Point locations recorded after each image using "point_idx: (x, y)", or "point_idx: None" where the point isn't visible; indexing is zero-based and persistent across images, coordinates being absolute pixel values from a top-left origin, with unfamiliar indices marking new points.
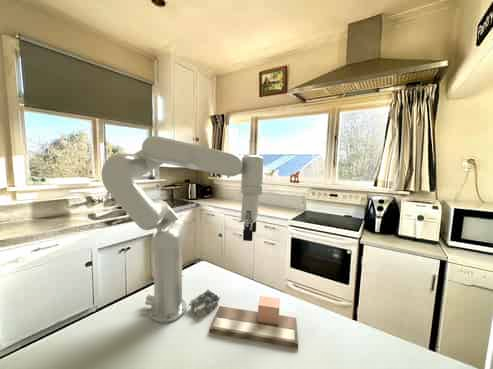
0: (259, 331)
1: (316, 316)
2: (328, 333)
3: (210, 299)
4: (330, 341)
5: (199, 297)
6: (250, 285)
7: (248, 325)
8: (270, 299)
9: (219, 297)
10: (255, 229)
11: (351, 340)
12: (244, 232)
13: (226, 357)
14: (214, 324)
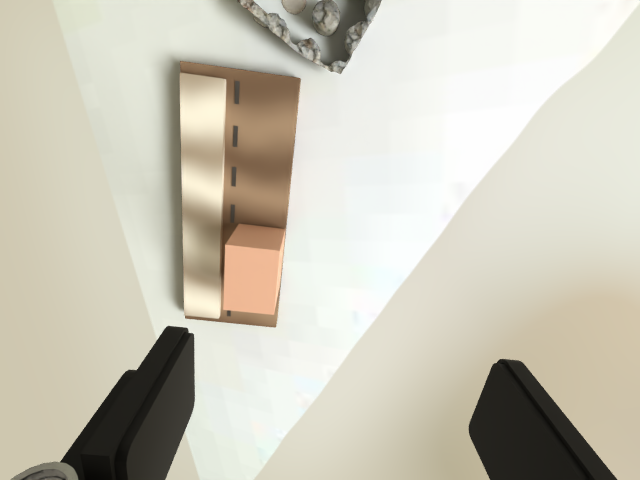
0: (192, 230)
1: (304, 370)
2: (248, 380)
3: (327, 28)
4: (225, 378)
5: None
6: (458, 192)
7: (208, 197)
8: (264, 286)
9: (341, 69)
10: (481, 460)
11: (236, 415)
12: (114, 417)
13: (115, 136)
14: (189, 78)
